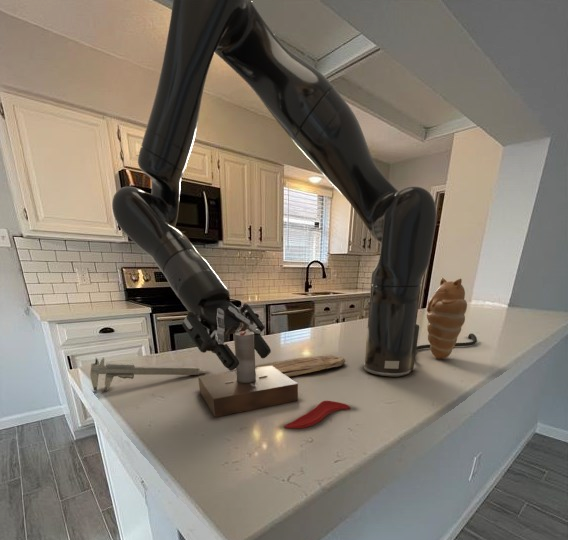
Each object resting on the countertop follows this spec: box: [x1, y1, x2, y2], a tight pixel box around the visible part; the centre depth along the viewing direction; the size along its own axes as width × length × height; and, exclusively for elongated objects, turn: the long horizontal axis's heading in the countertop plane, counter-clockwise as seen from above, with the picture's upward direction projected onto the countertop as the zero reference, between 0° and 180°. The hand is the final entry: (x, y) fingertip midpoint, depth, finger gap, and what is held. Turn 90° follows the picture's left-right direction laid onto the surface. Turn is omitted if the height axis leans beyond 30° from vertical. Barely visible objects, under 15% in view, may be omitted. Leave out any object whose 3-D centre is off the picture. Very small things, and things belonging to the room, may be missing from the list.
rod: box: [233, 330, 256, 383], centre depth 53 cm, size 3×3×8 cm
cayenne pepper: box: [283, 400, 351, 429], centre depth 48 cm, size 12×5×2 cm, turn 115°
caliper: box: [89, 356, 206, 392], centre depth 62 cm, size 20×1×6 cm, turn 119°
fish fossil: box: [234, 354, 346, 378], centre depth 69 cm, size 26×10×1 cm, turn 118°
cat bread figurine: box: [426, 277, 468, 359], centre depth 72 cm, size 9×8×18 cm
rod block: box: [198, 366, 299, 418], centre depth 55 cm, size 14×11×3 cm
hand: (252, 360), depth 53 cm, fingers open, 7 cm apart
